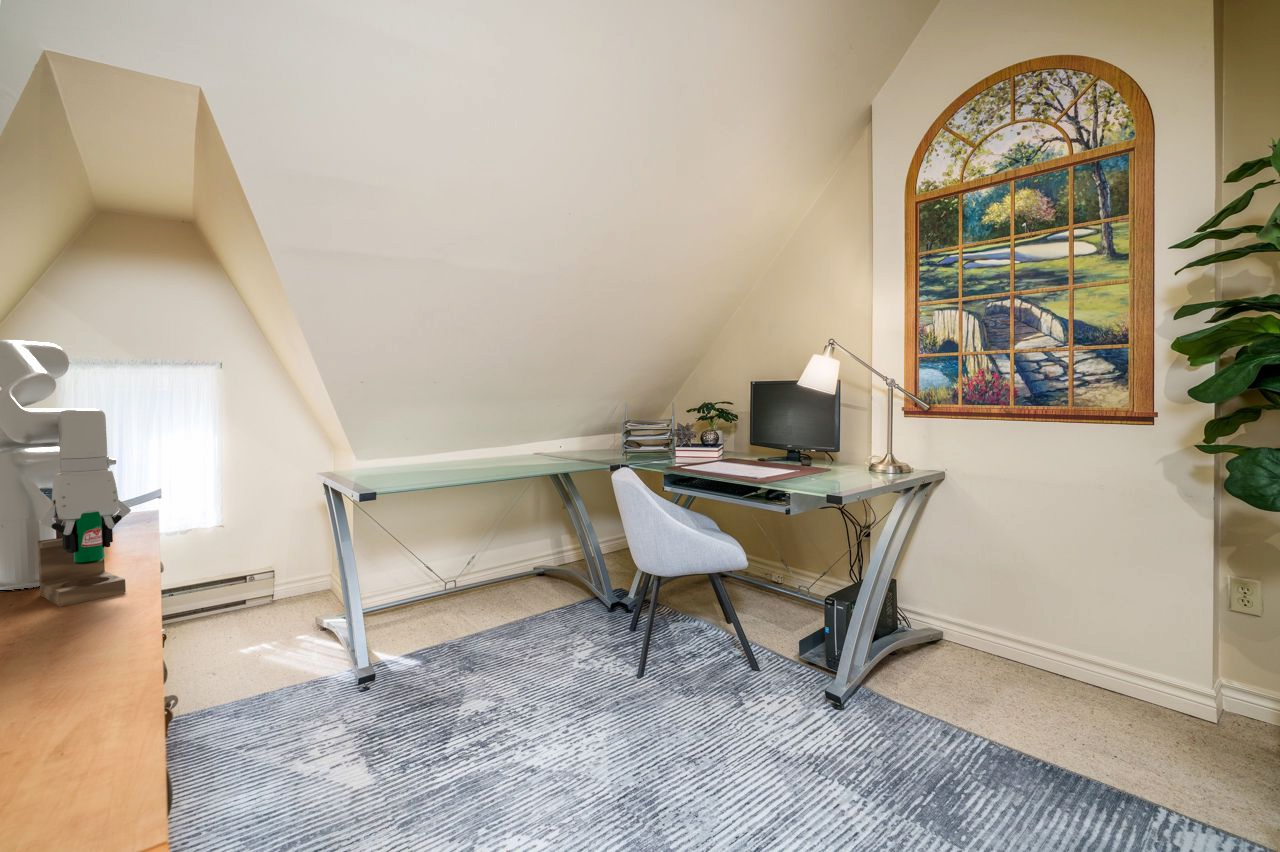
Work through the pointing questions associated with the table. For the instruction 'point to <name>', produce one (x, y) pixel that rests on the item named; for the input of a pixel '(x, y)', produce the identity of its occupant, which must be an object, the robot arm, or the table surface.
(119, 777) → the table surface
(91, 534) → the soda can
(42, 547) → the socket block
